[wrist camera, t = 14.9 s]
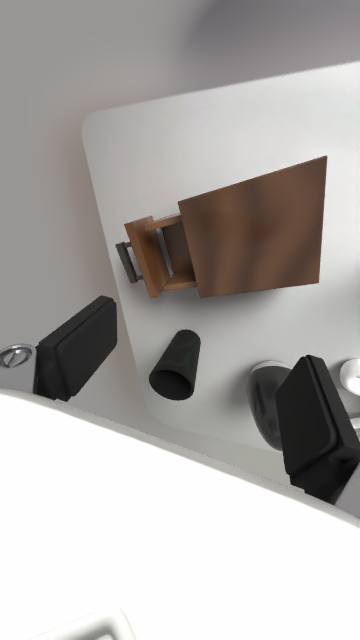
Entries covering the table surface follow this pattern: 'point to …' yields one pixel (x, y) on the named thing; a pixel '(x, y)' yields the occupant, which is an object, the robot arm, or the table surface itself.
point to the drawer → (158, 254)
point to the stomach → (351, 382)
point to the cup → (177, 367)
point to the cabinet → (258, 231)
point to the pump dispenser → (266, 398)
